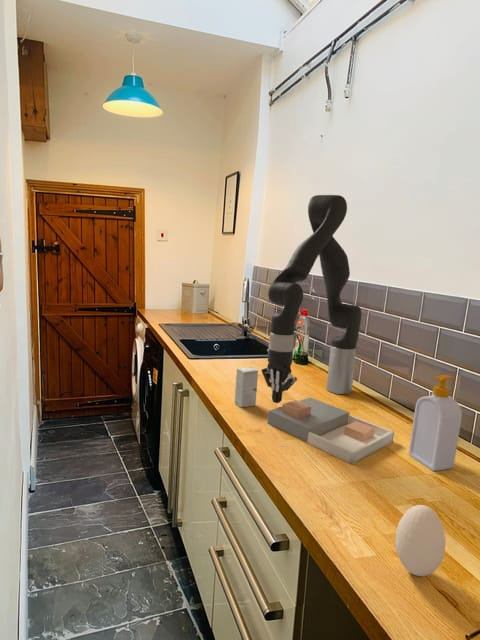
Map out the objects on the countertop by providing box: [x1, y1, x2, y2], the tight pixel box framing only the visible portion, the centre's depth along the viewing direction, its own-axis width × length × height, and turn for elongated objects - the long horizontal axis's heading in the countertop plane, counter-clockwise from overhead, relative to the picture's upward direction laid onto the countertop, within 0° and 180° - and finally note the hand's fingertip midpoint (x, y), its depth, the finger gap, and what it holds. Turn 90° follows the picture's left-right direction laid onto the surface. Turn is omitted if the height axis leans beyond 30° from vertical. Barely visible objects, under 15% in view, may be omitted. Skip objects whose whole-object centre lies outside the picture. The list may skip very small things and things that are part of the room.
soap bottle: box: [408, 374, 463, 472], centre depth 104 cm, size 9×7×23 cm
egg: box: [394, 504, 446, 577], centre depth 67 cm, size 7×7×12 cm
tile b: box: [281, 399, 311, 419], centre depth 122 cm, size 6×6×2 cm
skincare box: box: [234, 366, 259, 408], centre depth 136 cm, size 6×4×12 cm
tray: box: [307, 414, 395, 466], centre depth 114 cm, size 21×14×3 cm, turn 133°
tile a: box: [344, 421, 375, 442], centre depth 117 cm, size 6×6×2 cm
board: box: [267, 397, 350, 443], centre depth 124 cm, size 20×15×4 cm
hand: (276, 402), depth 127 cm, fingers closed
